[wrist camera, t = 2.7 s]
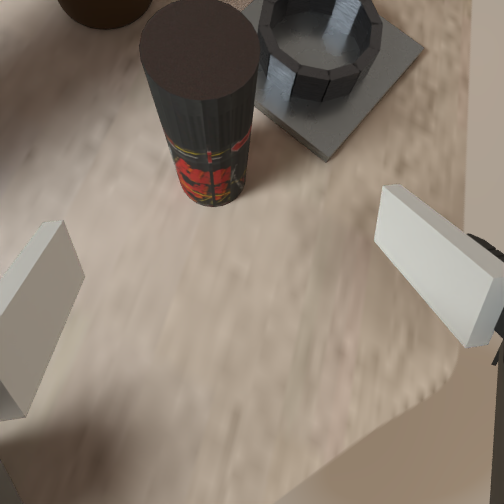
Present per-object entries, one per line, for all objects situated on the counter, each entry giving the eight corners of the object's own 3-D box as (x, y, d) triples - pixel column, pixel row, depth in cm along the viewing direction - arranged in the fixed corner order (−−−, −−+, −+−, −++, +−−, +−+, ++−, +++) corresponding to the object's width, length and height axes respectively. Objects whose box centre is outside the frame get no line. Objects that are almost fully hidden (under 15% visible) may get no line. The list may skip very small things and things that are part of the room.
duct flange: (197, 61, 34) (193, 27, 31) (298, -34, 38) (306, -75, 34) (326, 162, 33) (339, 140, 29) (419, 55, 36) (442, 22, 32)
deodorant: (167, 165, 32) (117, 27, 17) (224, 135, 33) (221, -20, 18) (201, 218, 31) (177, 121, 17) (257, 186, 32) (283, 67, 18)
